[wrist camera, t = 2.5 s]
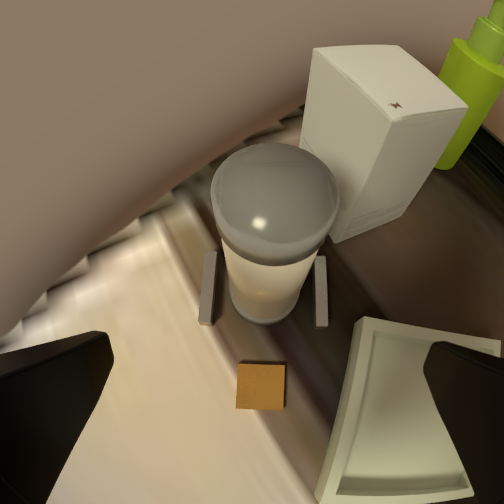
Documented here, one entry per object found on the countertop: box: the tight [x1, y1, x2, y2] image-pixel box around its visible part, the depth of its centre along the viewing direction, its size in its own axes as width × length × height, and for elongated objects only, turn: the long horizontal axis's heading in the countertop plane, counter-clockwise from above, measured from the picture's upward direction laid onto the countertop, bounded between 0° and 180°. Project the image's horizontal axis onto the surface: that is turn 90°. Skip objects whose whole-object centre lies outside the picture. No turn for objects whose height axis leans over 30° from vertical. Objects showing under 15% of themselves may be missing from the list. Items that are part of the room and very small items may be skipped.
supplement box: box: [299, 45, 469, 244], centre depth 20 cm, size 7×7×13 cm
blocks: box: [198, 251, 328, 410], centre depth 20 cm, size 10×8×1 cm
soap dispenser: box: [434, 0, 504, 170], centre depth 19 cm, size 6×7×20 cm
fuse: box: [211, 143, 340, 326], centre depth 16 cm, size 5×5×12 cm
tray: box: [314, 316, 501, 504], centre depth 16 cm, size 13×13×2 cm
